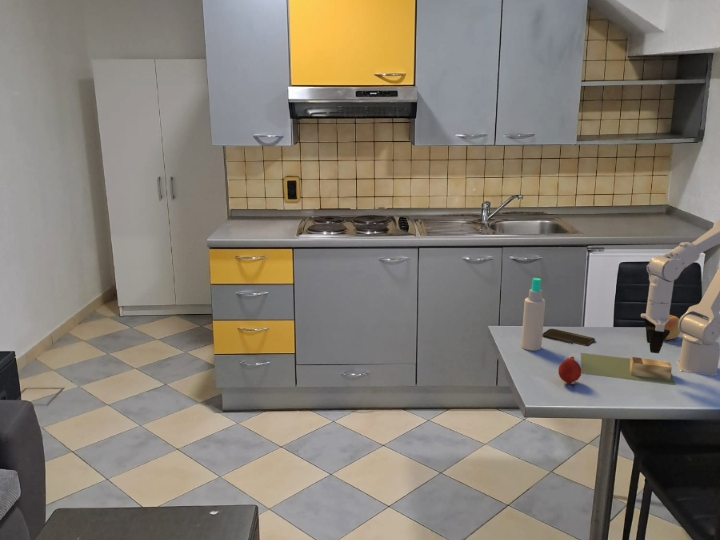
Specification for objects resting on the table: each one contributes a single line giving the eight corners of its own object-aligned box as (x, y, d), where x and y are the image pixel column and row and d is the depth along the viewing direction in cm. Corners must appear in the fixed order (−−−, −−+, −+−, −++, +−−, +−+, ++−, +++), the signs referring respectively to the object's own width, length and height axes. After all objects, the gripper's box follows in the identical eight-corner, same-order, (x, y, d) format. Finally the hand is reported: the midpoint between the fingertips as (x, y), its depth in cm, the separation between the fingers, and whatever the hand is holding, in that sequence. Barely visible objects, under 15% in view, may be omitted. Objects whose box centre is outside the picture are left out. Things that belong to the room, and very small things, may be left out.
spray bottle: (545, 349, 197) (551, 280, 192) (529, 352, 195) (535, 282, 189) (532, 342, 203) (538, 275, 197) (516, 345, 200) (522, 277, 195)
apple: (650, 340, 206) (653, 317, 204) (649, 332, 214) (653, 309, 212) (680, 345, 203) (684, 320, 200) (678, 335, 210) (682, 312, 208)
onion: (565, 389, 170) (568, 361, 168) (553, 380, 175) (555, 353, 173) (584, 387, 172) (587, 359, 170) (571, 378, 177) (574, 351, 175)
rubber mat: (667, 364, 187) (667, 362, 187) (675, 386, 173) (675, 385, 173) (580, 353, 194) (580, 352, 194) (581, 374, 180) (581, 373, 179)
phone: (550, 328, 214) (596, 338, 205) (550, 331, 214) (595, 341, 206) (541, 334, 208) (587, 345, 199) (540, 337, 208) (587, 348, 199)
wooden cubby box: (667, 373, 180) (669, 360, 179) (670, 379, 176) (671, 366, 175) (629, 368, 183) (630, 356, 182) (630, 374, 179) (632, 362, 178)
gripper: (640, 291, 182) (634, 337, 185) (646, 306, 168) (639, 355, 172) (667, 294, 180) (661, 340, 183) (675, 309, 166) (668, 358, 170)
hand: (652, 347), depth 177 cm, fingers open, 7 cm apart
